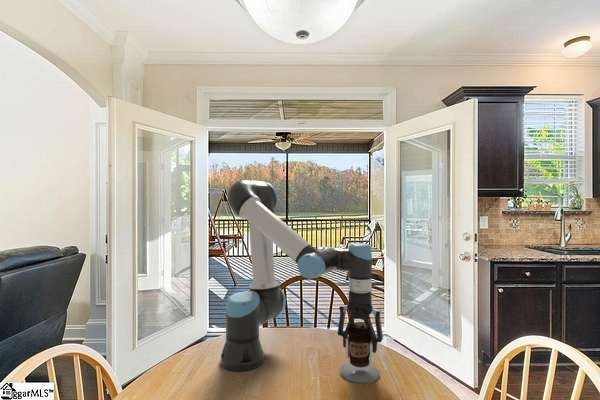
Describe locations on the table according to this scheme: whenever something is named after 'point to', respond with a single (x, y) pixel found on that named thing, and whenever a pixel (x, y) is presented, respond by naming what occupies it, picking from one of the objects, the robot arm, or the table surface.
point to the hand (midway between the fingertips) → (359, 359)
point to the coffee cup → (359, 344)
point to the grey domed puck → (359, 373)
